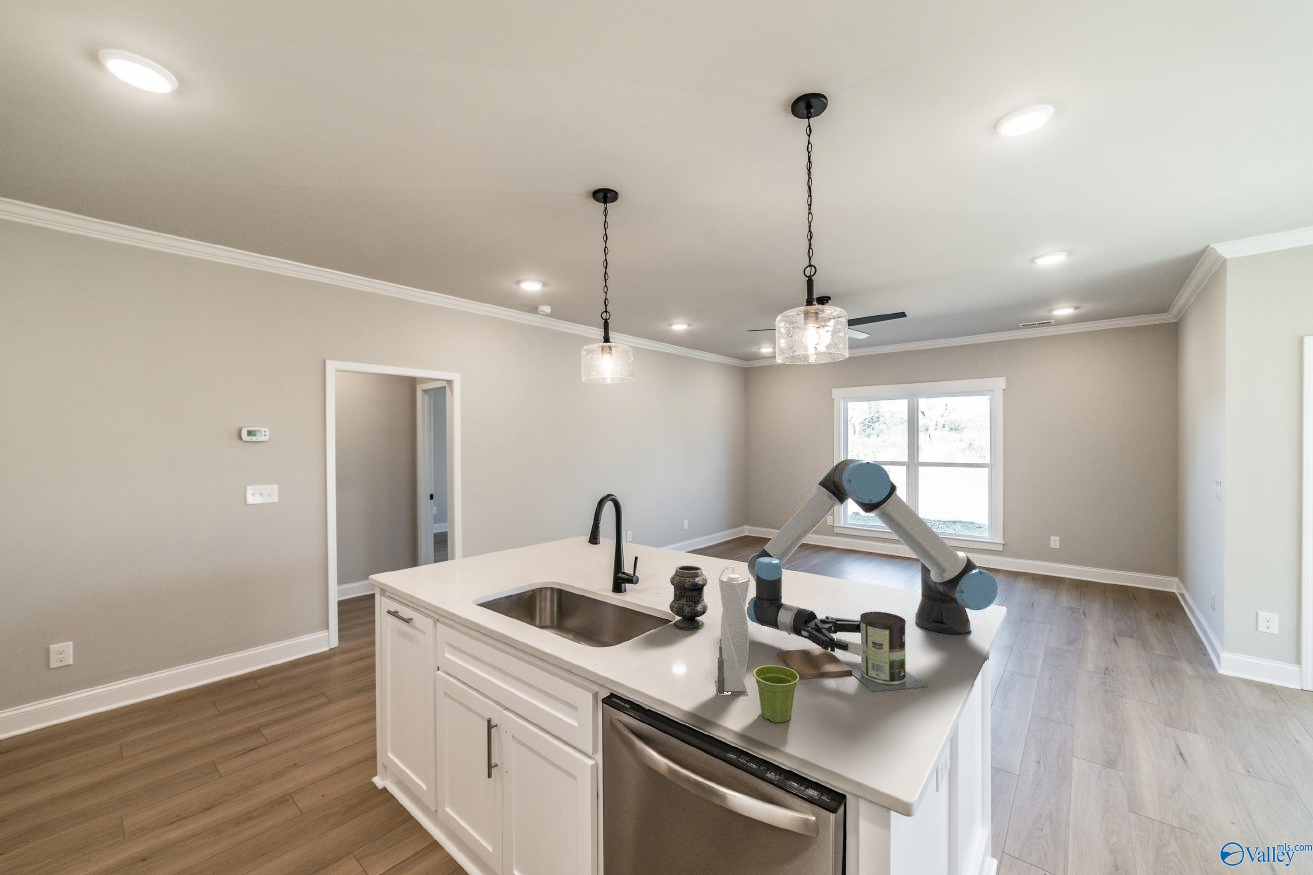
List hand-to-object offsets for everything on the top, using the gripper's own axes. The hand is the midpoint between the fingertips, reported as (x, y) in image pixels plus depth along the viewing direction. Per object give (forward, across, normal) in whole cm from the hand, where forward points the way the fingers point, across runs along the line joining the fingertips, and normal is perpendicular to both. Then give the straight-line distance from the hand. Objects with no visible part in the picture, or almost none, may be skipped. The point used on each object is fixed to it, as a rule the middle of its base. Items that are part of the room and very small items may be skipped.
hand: (874, 642), depth 129 cm
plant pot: (-6, +34, -8) cm, 36 cm away
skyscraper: (-21, +30, -8) cm, 38 cm away
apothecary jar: (-56, +7, -8) cm, 57 cm away
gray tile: (+2, 0, -8) cm, 8 cm away
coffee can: (+2, 0, -8) cm, 8 cm away
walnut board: (-14, +6, -8) cm, 17 cm away
